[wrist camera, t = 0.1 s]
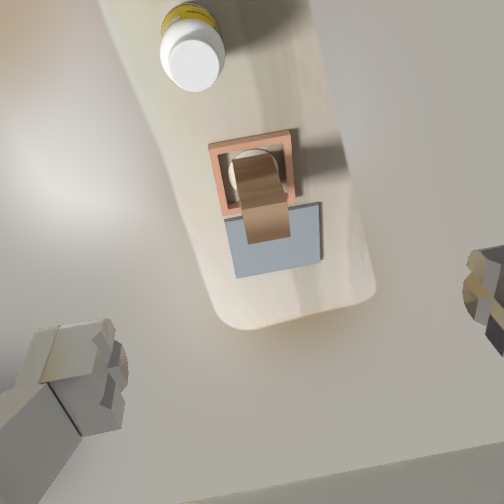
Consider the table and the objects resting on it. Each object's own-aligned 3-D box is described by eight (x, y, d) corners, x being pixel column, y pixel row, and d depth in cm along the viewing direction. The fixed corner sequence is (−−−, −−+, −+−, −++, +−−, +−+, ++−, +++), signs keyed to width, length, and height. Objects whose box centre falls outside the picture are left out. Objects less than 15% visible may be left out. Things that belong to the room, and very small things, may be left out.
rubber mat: (224, 219, 56) (224, 222, 56) (317, 202, 57) (318, 205, 56) (236, 275, 63) (236, 278, 62) (319, 260, 63) (320, 262, 63)
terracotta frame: (207, 144, 49) (208, 149, 48) (288, 129, 50) (290, 134, 49) (221, 210, 55) (222, 216, 54) (293, 197, 56) (295, 202, 55)
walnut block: (231, 159, 51) (242, 209, 43) (270, 152, 51) (287, 201, 43) (237, 192, 54) (248, 244, 46) (274, 185, 54) (290, 236, 46)
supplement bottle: (231, 32, 42) (243, 67, 35) (193, 74, 44) (196, 115, 37) (187, -14, 39) (191, 13, 32) (148, 33, 41) (143, 68, 34)
